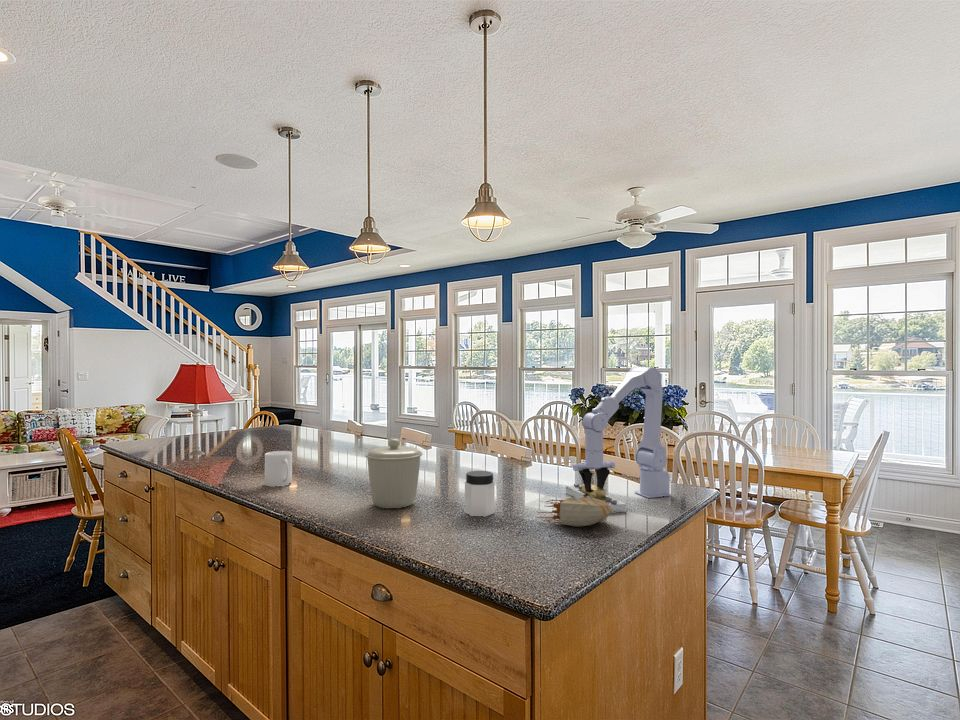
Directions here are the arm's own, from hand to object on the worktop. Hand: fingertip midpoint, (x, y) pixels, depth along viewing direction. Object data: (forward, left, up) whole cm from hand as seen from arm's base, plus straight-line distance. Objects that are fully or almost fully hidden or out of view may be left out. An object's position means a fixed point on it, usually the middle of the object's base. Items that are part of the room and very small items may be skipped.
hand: (594, 491), depth 172 cm
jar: (+40, 0, -4) cm, 40 cm away
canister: (+63, -17, -4) cm, 65 cm away
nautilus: (+18, +18, -4) cm, 25 cm away
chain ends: (0, 0, -3) cm, 3 cm away
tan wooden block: (0, 0, -4) cm, 4 cm away
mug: (+98, -57, -4) cm, 113 cm away
